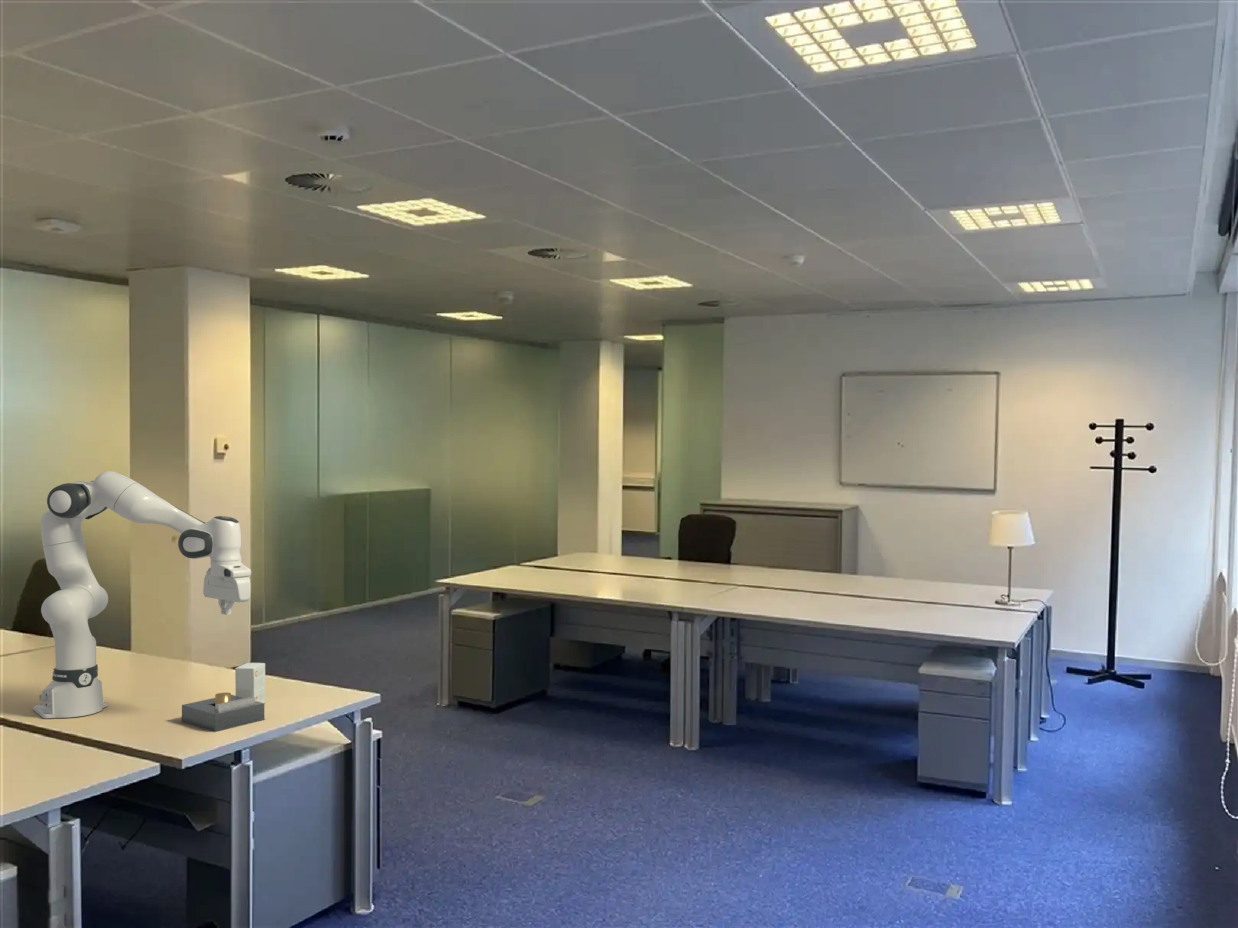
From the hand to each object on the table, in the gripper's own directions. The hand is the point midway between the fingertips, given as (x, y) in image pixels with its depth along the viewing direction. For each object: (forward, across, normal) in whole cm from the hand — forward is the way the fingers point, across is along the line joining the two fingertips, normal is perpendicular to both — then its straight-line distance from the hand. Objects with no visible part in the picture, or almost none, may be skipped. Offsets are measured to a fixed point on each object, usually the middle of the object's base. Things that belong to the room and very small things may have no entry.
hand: (226, 614), depth 299 cm
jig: (+31, +5, -4) cm, 32 cm away
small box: (+31, -4, +11) cm, 33 cm away
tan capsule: (+31, +5, -4) cm, 32 cm away
